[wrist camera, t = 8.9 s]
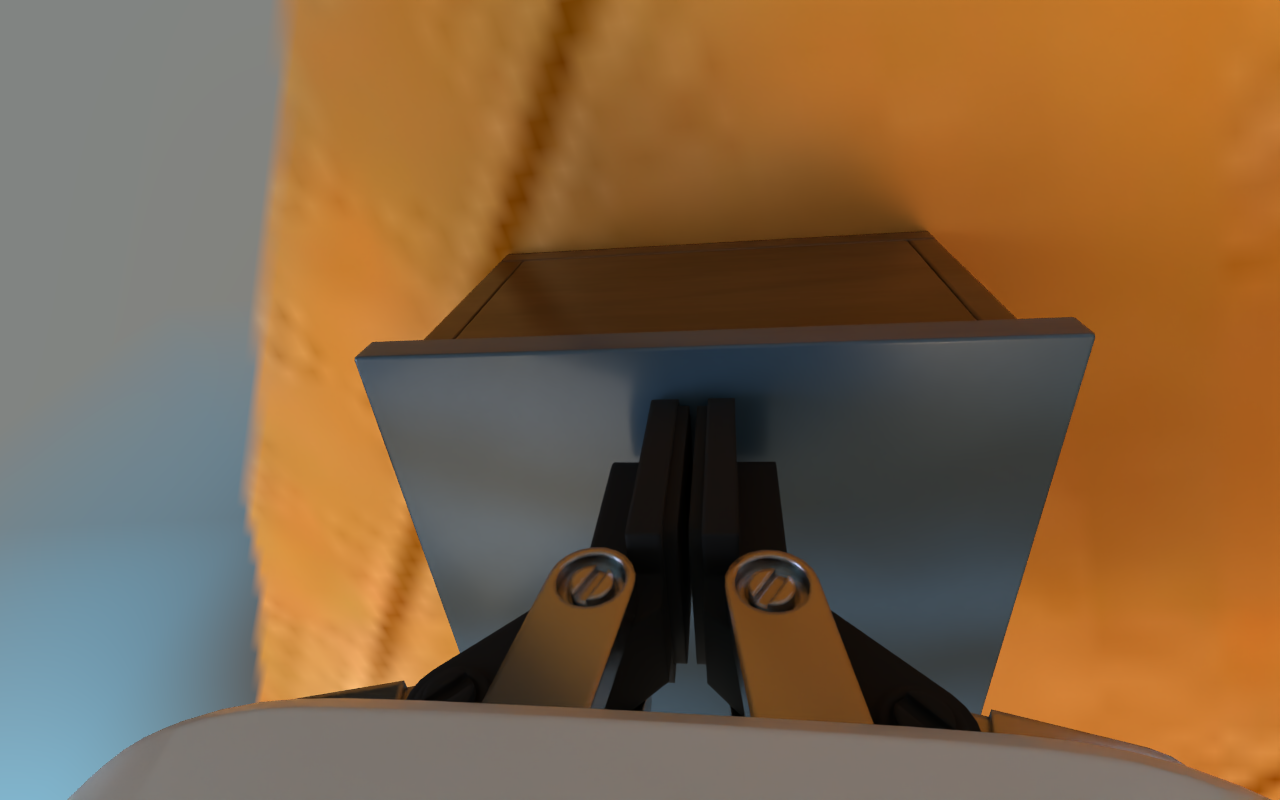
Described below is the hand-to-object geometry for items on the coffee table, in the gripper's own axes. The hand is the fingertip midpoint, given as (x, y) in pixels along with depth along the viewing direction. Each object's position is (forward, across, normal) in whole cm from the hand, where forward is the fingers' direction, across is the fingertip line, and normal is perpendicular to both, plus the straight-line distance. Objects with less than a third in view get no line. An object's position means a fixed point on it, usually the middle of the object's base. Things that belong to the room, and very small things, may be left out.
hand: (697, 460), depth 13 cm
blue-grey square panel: (+1, 0, +6) cm, 6 cm away
